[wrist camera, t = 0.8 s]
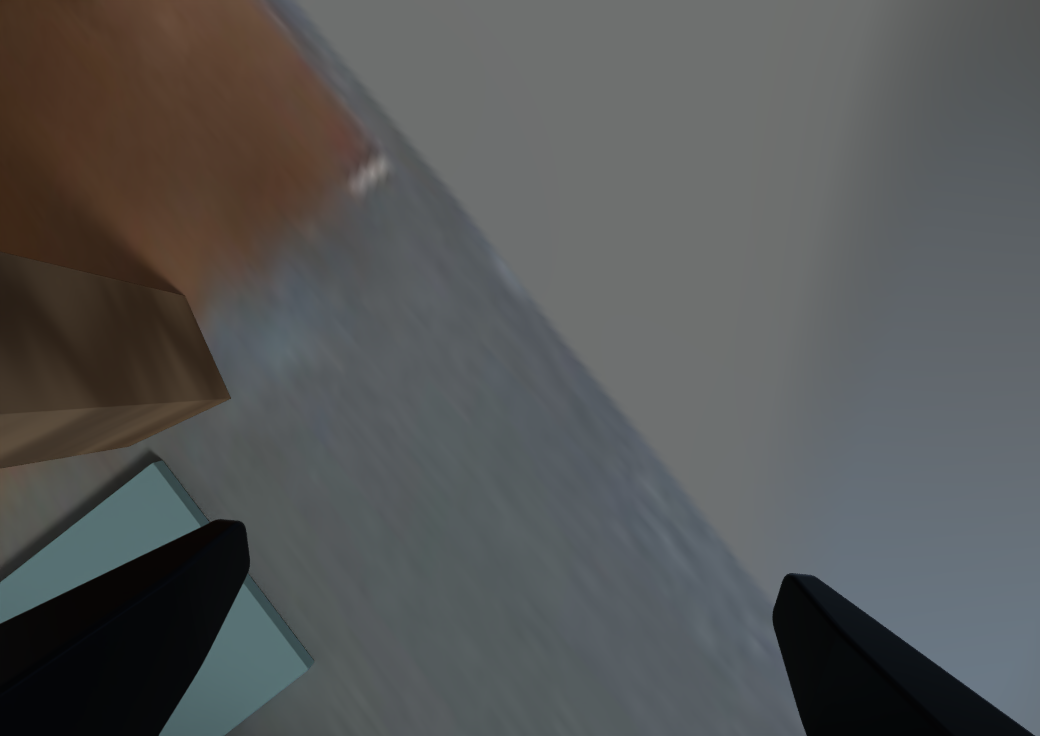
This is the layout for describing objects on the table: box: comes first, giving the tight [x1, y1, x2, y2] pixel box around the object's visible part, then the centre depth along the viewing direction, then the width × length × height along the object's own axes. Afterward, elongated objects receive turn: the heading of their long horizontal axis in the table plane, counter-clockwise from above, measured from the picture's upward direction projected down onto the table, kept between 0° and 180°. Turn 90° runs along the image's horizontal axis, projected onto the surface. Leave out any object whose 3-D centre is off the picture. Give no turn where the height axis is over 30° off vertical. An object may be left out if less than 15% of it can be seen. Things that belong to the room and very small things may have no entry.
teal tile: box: [0, 461, 314, 736], centre depth 22 cm, size 11×11×1 cm
